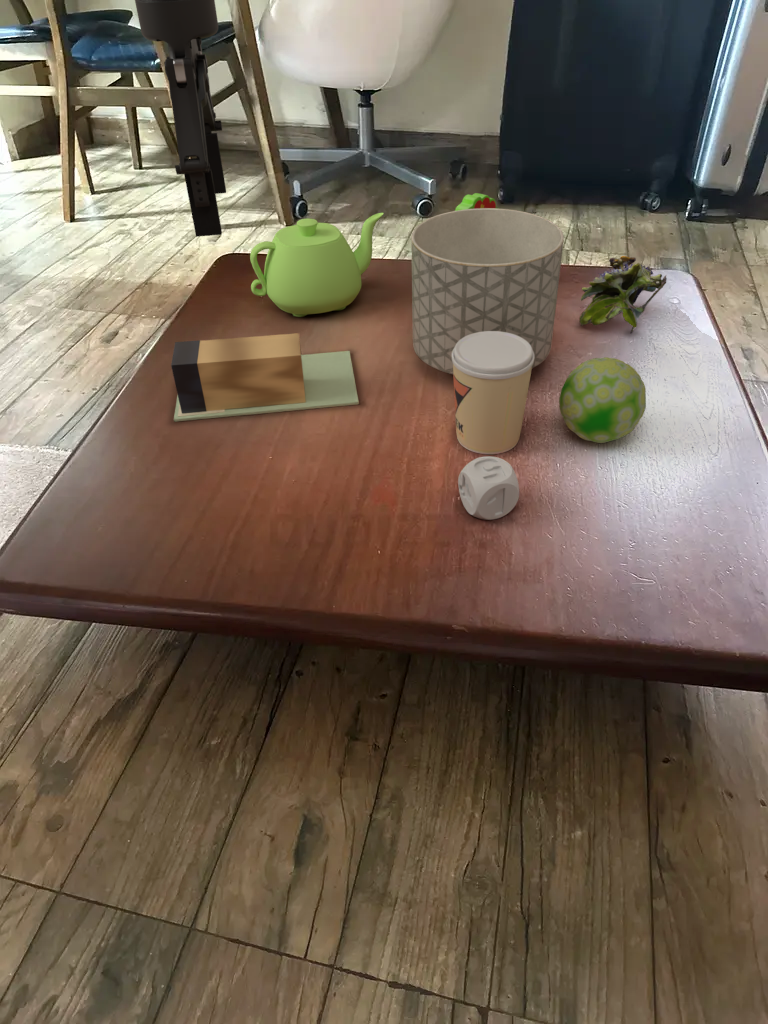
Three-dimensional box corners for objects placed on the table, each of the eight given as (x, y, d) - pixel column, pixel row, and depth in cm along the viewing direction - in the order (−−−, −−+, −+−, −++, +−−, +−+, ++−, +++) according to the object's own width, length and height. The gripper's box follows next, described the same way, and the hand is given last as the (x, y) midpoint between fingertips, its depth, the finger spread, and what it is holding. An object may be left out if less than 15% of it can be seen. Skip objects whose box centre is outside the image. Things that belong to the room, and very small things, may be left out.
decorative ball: (609, 406, 100) (622, 335, 94) (654, 448, 93) (671, 375, 86) (540, 422, 98) (548, 351, 91) (580, 467, 91) (592, 393, 84)
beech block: (303, 379, 107) (299, 332, 103) (305, 403, 103) (300, 355, 98) (185, 389, 106) (175, 341, 101) (181, 413, 101) (170, 365, 97)
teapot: (373, 272, 134) (370, 195, 126) (400, 309, 123) (398, 226, 115) (246, 293, 130) (234, 213, 121) (263, 332, 119) (250, 248, 110)
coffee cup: (452, 413, 100) (454, 328, 92) (526, 417, 99) (534, 330, 91) (446, 456, 93) (448, 367, 85) (526, 461, 92) (535, 371, 84)
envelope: (174, 421, 101) (173, 418, 101) (182, 367, 111) (181, 364, 111) (358, 404, 103) (358, 401, 102) (349, 353, 113) (349, 349, 113)
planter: (572, 351, 111) (589, 224, 99) (506, 413, 100) (517, 277, 88) (458, 319, 120) (462, 199, 108) (386, 372, 109) (381, 244, 97)
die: (475, 525, 83) (477, 488, 80) (457, 497, 87) (458, 461, 84) (518, 513, 85) (521, 477, 81) (497, 487, 88) (500, 451, 85)
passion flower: (608, 342, 124) (652, 273, 120) (644, 362, 115) (694, 288, 111) (555, 310, 119) (600, 237, 115) (589, 329, 110) (638, 250, 106)
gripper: (147, -25, 84) (186, 180, 98) (114, 10, 65) (168, 258, 79) (217, -28, 85) (246, 175, 98) (205, 5, 66) (243, 252, 79)
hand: (212, 212), depth 89 cm, fingers open, 13 cm apart
